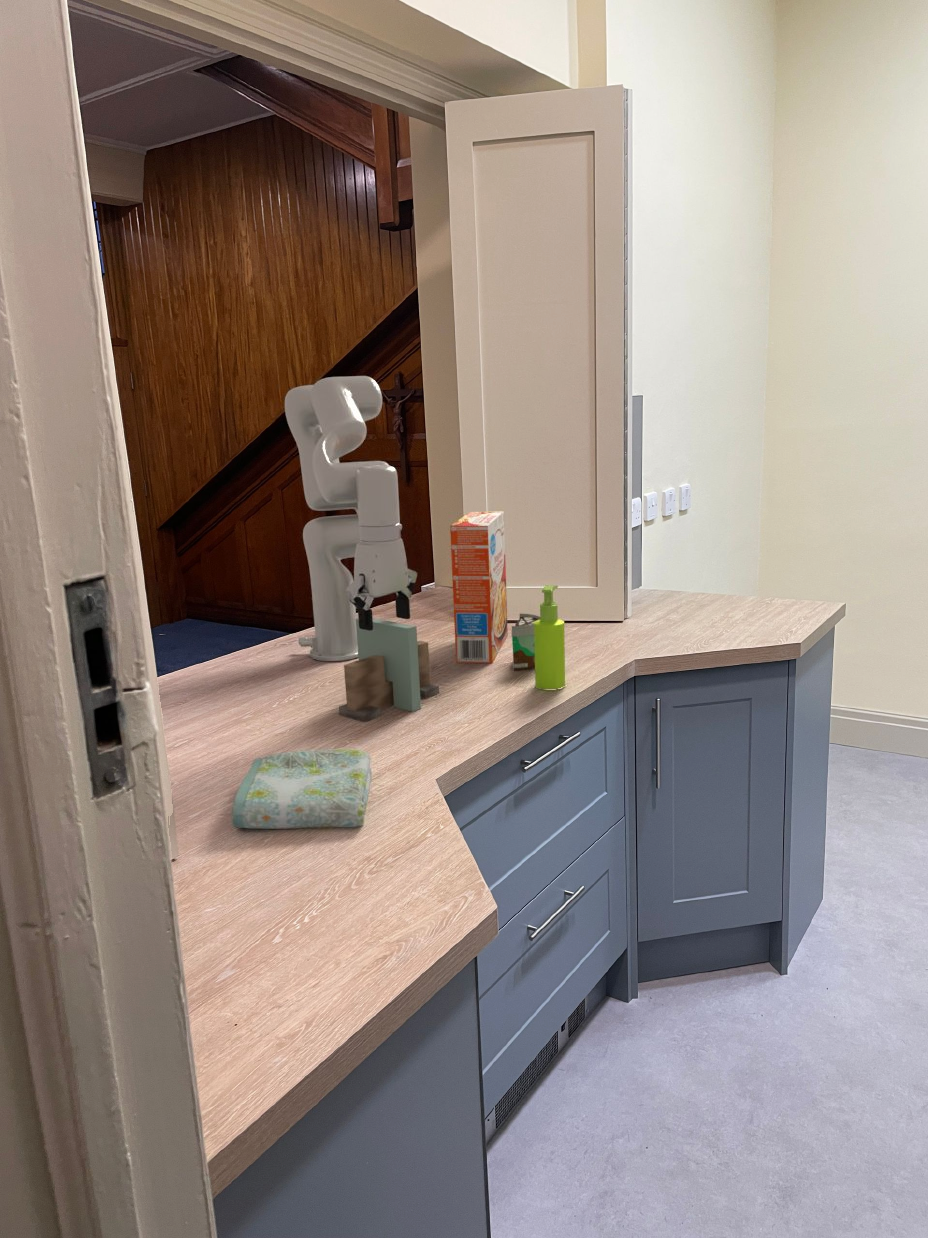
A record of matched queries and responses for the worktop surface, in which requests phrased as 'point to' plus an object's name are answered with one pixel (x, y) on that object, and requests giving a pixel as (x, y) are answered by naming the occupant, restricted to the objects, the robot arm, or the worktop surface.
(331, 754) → the towel
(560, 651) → the soap dispenser
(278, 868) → the worktop surface
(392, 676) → the sage slotted plate
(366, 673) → the walnut slotted board
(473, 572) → the cereal box
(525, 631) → the food container
